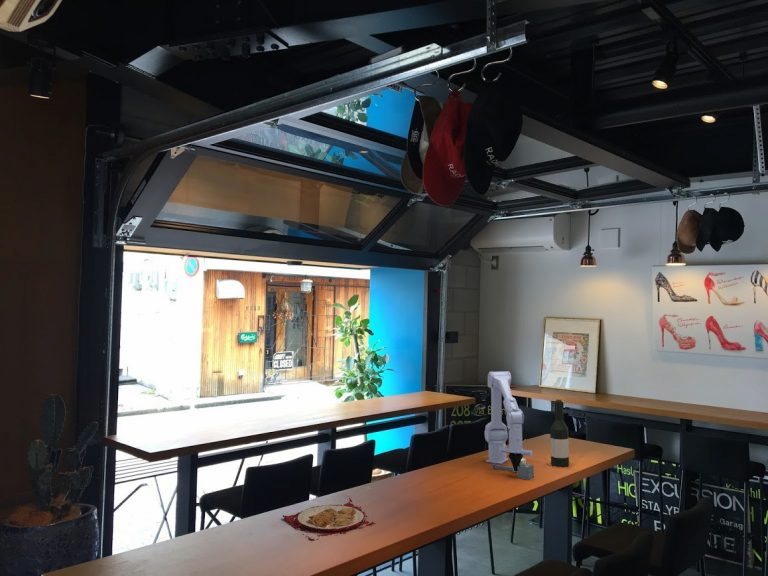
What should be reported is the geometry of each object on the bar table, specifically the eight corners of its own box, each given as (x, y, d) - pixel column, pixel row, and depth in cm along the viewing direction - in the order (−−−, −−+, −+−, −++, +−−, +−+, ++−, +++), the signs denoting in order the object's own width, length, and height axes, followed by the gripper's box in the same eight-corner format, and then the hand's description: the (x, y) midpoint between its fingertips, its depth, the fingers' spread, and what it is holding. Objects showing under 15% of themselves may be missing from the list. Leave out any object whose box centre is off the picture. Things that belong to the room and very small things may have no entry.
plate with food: (282, 521, 207) (281, 510, 207) (349, 505, 220) (349, 496, 220) (311, 545, 186) (310, 533, 186) (384, 526, 199) (383, 516, 199)
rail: (494, 467, 273) (494, 463, 273) (532, 472, 263) (532, 468, 264) (491, 468, 271) (491, 464, 271) (530, 474, 261) (530, 469, 261)
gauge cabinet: (522, 475, 260) (522, 462, 260) (533, 476, 257) (533, 464, 257) (517, 478, 255) (517, 465, 255) (529, 479, 252) (528, 467, 252)
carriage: (516, 469, 268) (516, 457, 269) (526, 470, 266) (526, 458, 266) (512, 471, 264) (512, 459, 265) (522, 473, 262) (522, 461, 262)
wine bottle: (571, 467, 272) (570, 401, 274) (553, 467, 272) (551, 401, 274) (566, 462, 280) (565, 398, 282) (548, 462, 281) (547, 398, 282)
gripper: (496, 439, 259) (496, 470, 259) (528, 442, 252) (529, 475, 251) (502, 436, 265) (502, 467, 265) (534, 439, 258) (534, 471, 257)
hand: (516, 470), depth 258 cm, fingers closed
